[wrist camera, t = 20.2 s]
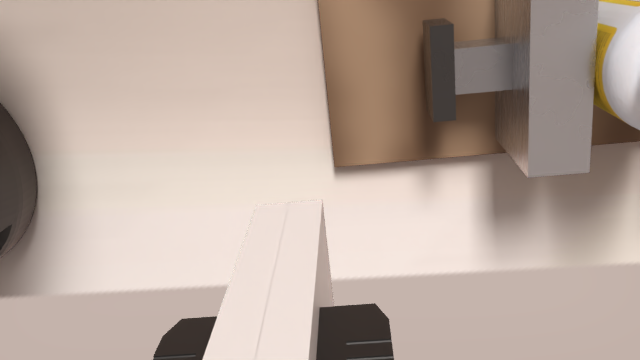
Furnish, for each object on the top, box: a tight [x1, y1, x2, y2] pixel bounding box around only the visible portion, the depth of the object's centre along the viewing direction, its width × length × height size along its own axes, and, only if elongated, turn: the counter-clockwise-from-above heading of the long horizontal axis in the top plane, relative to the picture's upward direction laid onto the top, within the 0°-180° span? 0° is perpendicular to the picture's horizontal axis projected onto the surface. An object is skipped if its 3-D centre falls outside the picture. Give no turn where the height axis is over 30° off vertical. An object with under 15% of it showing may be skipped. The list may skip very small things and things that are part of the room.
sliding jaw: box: [422, 0, 599, 178], centre depth 32 cm, size 7×10×7 cm
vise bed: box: [318, 0, 640, 167], centre depth 32 cm, size 24×12×8 cm, turn 96°
